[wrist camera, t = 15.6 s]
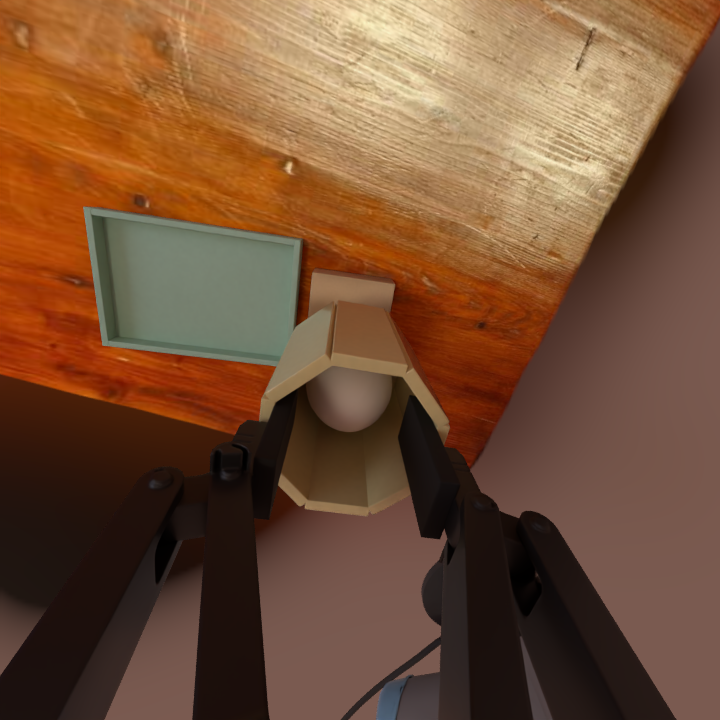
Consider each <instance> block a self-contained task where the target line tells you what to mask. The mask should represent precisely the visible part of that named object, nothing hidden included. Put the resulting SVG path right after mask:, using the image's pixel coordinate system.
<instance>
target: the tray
mask: <svg viewBox="0 0 720 720" xmlns="http://www.w3.org/2000/svg"><path fill="white" fill-rule="evenodd" d="M83 208H84V215H85V222H86V229H87V236H88V243H89V251H90V258H91V265H92V272H93V279H94V286H95V294H96V301H97V308H98V315H99V322H100V329H101V337H102V344H103V345H104V346H112V347H121V348H129V349H137V350H146V351H154V352H162V353H171V354H179V355H187V356H196V357H204V358H212V359H220V360H229V361H237V362H245V363H254V364H262V365H270V366H277V365H278V363H279V360H280V358H281V356H282V354H283V352H284V350H285V348H286V345H287V343H288V341H289V339H290V337H291V335H292V333H293V331H294V329H295V327H296V321H297V309H298V297H299V285H300V273H301V261H302V249H303V239H301V238H294V237H288V236H281V235H275V234H268V233H262V232H255V231H249V230H242V229H236V228H229V227H223V226H216V225H210V224H203V223H197V222H191V221H184V220H178V219H171V218H165V217H158V216H152V215H145V214H139V213H132V212H126V211H119V210H113V209H106V208H100V207H83Z"/></svg>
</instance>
